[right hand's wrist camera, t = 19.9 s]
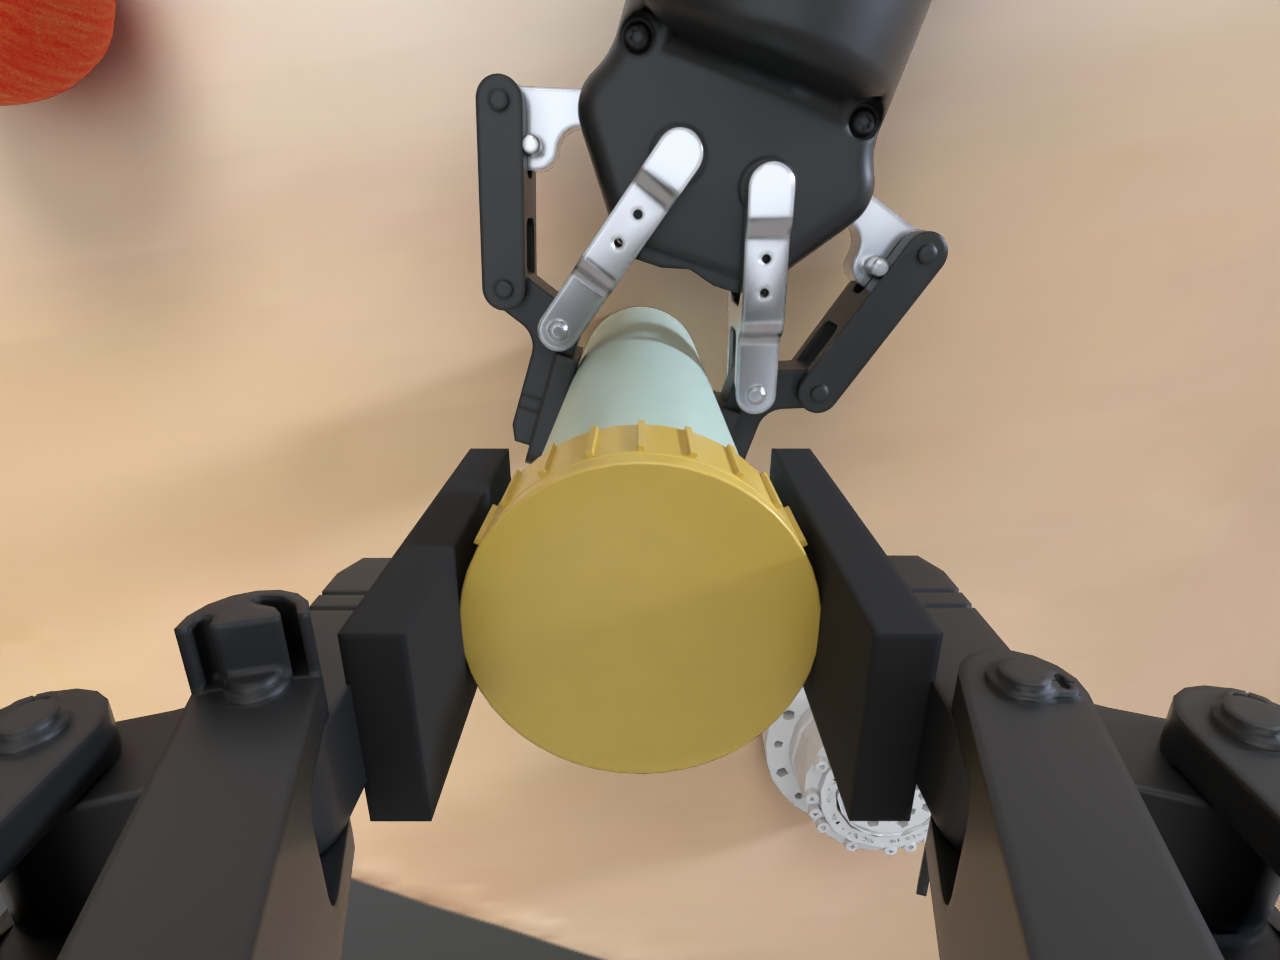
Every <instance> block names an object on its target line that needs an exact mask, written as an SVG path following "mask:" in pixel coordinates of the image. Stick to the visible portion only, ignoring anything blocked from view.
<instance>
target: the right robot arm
mask: <svg viewBox="0 0 1280 960" xmlns="http://www.w3.org/2000/svg"><path fill="white" fill-rule="evenodd" d="M510 481H511V475H510V460H509V449H470V450H469V452H468V453H467V454H466V456H465V457H464V458H463V460H462V461H461V463H460V464H459V465H458V467H457V468H456V470H455V471H454V472H453V474H452V475H451V477H450V478H449V479H448V481H447V482H446V483H445V485H444V486H443V488H442V489H441V490H440V492H439V493H438V495H437V496H436V497H435V499H434V500H433V501H432V503H431V504H430V506H429V507H428V508H427V510H426V511H425V513H424V514H423V515H422V517H421V518H420V520H419V521H418V522H417V524H416V525H415V526H414V528H413V529H412V531H411V532H410V533H409V535H408V536H407V538H406V539H405V540H404V542H403V543H402V545H401V546H400V547H399V549H398V550H397V551H396V553H395V554H394V556H393V557H392V558H363V559H361V560H359V561H358V562H356V563H354V564H352V565H351V566H349V567H347V568H346V569H344V570H342V571H341V572H339V573H337V575H336V576H335V577H334V578H333V579H332V581H331V582H330V583H329V584H328V585H327V587H326V588H325V589H324V590H323V591H322V595H319V596H318V597H317V598H316V600H315V601H314V602H313V603H312V604H311V606H310V608H309V603H308V601H307V600H306V599H305V598H303V597H302V596H300V595H299V594H297V593H293V592H288V591H283V590H265V591H254V592H249V593H243V594H238V595H233V596H230V597H227V598H224V599H222V600H219V601H216V602H213V603H211V604H208V605H206V606H204V607H202V608H201V609H199V610H197V611H195V612H194V613H192V614H190V615H188V616H187V617H186V618H185V619H184V620H183V621H182V622H181V623H180V624H179V625H178V626H177V627H176V628H175V629H174V631H175V635H176V638H177V642H178V646H179V649H180V653H181V657H182V660H183V664H184V668H185V671H186V675H187V678H188V682H189V686H190V689H191V693H192V695H191V697H190V699H189V700H188V702H187V704H186V706H185V708H182V709H178V710H174V711H169V712H164V713H159V714H154V715H149V716H144V717H139V718H133V719H128V720H123V721H118V722H115V719H114V716H113V713H112V710H111V707H110V704H109V701H108V699H107V698H106V697H104V696H103V695H102V694H100V693H99V692H98V691H92V690H84V689H70V690H62V691H50V692H45V693H41V694H37V695H36V696H34V697H33V696H30V697H27V698H24V699H21V700H18V701H16V702H14V703H12V704H11V705H9V706H7V707H5V708H3V709H0V893H1V895H2V897H3V899H4V902H5V904H6V906H7V908H8V909H7V910H6V911H5V912H4V913H3V914H2V915H1V917H0V960H340V958H341V951H342V943H343V935H344V927H345V920H346V912H347V904H348V896H349V889H350V881H351V873H352V865H353V858H354V850H355V846H354V839H353V832H352V827H351V821H350V816H351V814H352V811H353V809H354V807H355V805H356V803H357V801H358V799H359V797H360V795H361V793H362V791H363V789H364V787H365V793H366V798H367V804H368V810H369V815H370V821H431V820H432V818H433V815H434V812H435V809H436V806H437V803H438V800H439V797H440V794H441V791H442V788H443V786H444V783H445V780H446V777H447V774H448V771H449V768H450V765H451V762H452V759H453V756H454V753H455V751H456V748H457V745H458V742H459V739H460V736H461V733H462V730H463V727H464V724H465V721H466V719H467V716H468V713H469V710H470V707H471V704H472V701H473V698H474V695H475V692H476V689H477V686H478V685H477V684H476V682H475V680H474V678H473V676H472V674H471V672H470V669H469V666H468V663H467V660H466V657H465V654H464V645H463V637H462V627H461V617H460V599H461V590H462V587H463V583H464V580H465V576H466V572H467V569H468V567H469V565H470V563H471V560H472V558H473V556H474V554H475V551H476V549H477V547H478V545H477V544H475V543H474V540H475V538H476V536H477V534H478V532H479V530H480V528H481V526H482V525H483V523H484V521H485V519H486V517H487V515H488V513H489V511H490V509H491V507H492V505H493V504H494V505H496V506H498V504H499V502H500V501H501V499H502V498H503V496H504V493H505V491H506V489H507V487H508V485H509V483H510ZM770 481H771V483H772V485H773V487H774V489H775V491H776V493H777V495H778V497H779V499H780V501H781V503H782V505H783V507H787V506H789V508H790V510H791V512H792V514H793V516H794V518H795V520H796V522H797V524H798V526H799V528H800V530H801V532H802V533H803V535H804V537H805V539H806V542H807V544H808V545H806V546H804V547H803V549H804V551H805V553H806V555H807V557H808V559H809V562H810V564H811V566H812V568H813V571H814V575H815V578H816V581H817V585H818V588H819V595H820V603H821V612H820V622H819V633H818V641H817V650H816V656H815V659H814V662H813V665H812V668H811V671H810V673H809V675H808V677H807V679H806V681H805V683H804V685H803V688H804V691H805V694H806V697H807V700H808V703H809V706H810V709H811V711H812V714H813V717H814V720H815V723H816V726H817V729H818V732H819V735H820V738H821V741H822V743H823V746H824V749H825V752H826V755H827V758H828V761H829V764H830V767H831V770H832V773H833V776H834V778H835V781H836V784H837V787H838V790H839V793H840V796H841V799H842V802H843V805H844V808H845V810H846V813H847V816H848V819H849V821H910V818H911V812H912V807H913V801H914V795H915V790H916V784H917V786H918V788H919V790H920V792H921V794H922V796H923V799H924V801H925V803H926V805H927V807H928V809H929V811H930V813H931V816H930V821H929V827H928V832H927V837H926V842H925V847H924V853H923V858H922V863H921V868H920V873H919V879H918V886H917V893H916V894H918V895H923V896H926V894H927V889H928V884H929V881H930V887H931V895H932V902H933V910H934V918H935V926H936V933H937V941H938V949H939V957H940V960H1280V912H1279V910H1278V909H1277V908H1276V907H1275V906H1274V905H1275V903H1276V901H1277V899H1278V896H1279V894H1280V705H1278V704H1276V703H1273V702H1271V701H1270V700H1268V699H1267V698H1265V697H1262V696H1259V695H1256V694H1253V693H1250V692H1249V694H1248V693H1246V692H1245V691H1242V690H1238V689H1233V688H1222V687H1214V686H1205V685H1204V686H1196V687H1188V688H1184V689H1182V690H1181V691H1180V692H1178V693H1177V694H1176V695H1174V697H1173V700H1172V703H1171V706H1170V709H1169V712H1168V715H1167V718H1166V719H1163V718H1158V717H1153V716H1148V715H1143V714H1138V713H1133V712H1128V711H1123V710H1117V709H1112V708H1108V707H1104V706H1100V705H1096V704H1094V703H1093V701H1092V699H1091V697H1090V695H1089V693H1088V692H1087V691H1086V690H1085V688H1084V687H1083V686H1082V685H1081V684H1080V682H1079V681H1078V680H1077V679H1076V678H1075V677H1073V676H1072V675H1070V674H1069V673H1067V672H1066V671H1064V670H1063V669H1061V668H1060V667H1058V666H1057V665H1054V664H1052V663H1050V662H1047V661H1045V660H1043V659H1040V658H1038V657H1035V656H1032V655H1028V654H1024V653H1020V652H1015V651H1011V650H1010V649H1009V648H1008V647H1007V646H1006V644H1005V643H1004V642H1003V641H1002V640H1001V638H1000V637H999V636H998V635H997V634H996V633H995V631H994V630H993V629H992V628H991V627H990V625H989V624H988V623H987V622H986V621H985V620H984V618H983V617H982V616H981V615H980V614H979V612H978V611H977V610H976V609H975V608H972V607H971V603H970V602H969V601H968V600H967V598H966V597H965V596H964V595H963V594H962V593H959V589H958V588H957V587H956V585H955V584H954V583H953V582H952V581H951V579H950V578H949V577H948V576H947V575H946V574H945V572H944V571H942V570H941V569H939V568H937V567H936V566H934V565H932V564H931V563H929V562H927V561H926V560H924V559H922V558H920V557H919V556H887V555H886V554H885V552H884V551H883V549H882V548H881V547H880V545H879V544H878V542H877V541H876V540H875V538H874V537H873V536H872V534H871V533H870V531H869V530H868V529H867V527H866V526H865V524H864V523H863V522H862V520H861V519H860V518H859V516H858V515H857V513H856V512H855V511H854V509H853V508H852V506H851V505H850V504H849V502H848V501H847V499H846V498H845V497H844V495H843V494H842V493H841V491H840V490H839V488H838V487H837V486H836V484H835V483H834V481H833V480H832V479H831V477H830V476H829V474H828V473H827V472H826V470H825V469H824V468H823V466H822V465H821V463H820V462H819V461H818V459H817V458H816V456H815V455H814V454H813V452H812V451H811V450H810V449H772V452H771V467H770Z"/></svg>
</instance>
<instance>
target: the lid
mask: <svg viewBox="0 0 1280 960" xmlns="http://www.w3.org/2000/svg"><path fill="white" fill-rule="evenodd" d="M474 543H475V544H477V545H478V547H477V549H476V551H475V554H474V556H473V558H472V560H471V563H470V565H469V567H468V569H467V572H466V576H465V580H464V583H463V587H462V590H461V599H460V617H461V627H462V637H463V645H464V654H465V657H466V660H467V663H468V666H469V669H470V672H471V674H472V676H473V678H474V680H475V682H476V684H477V685H478V687H479V689H480V691H481V692H482V694H483V695H484V697H485V698H486V699H487V701H488V702H489V704H490V705H491V707H492V708H493V709H494V710H495V711H496V712H497V713H498V714H499V715H500V716H501V718H502V719H503V720H504V721H505V722H506V723H507V724H509V725H510V726H511V727H512V728H513V729H514V730H516V731H517V732H518V733H519V734H520V735H522V736H523V737H525V738H526V739H528V740H529V741H531V742H532V743H534V744H535V745H537V746H538V747H540V748H542V749H544V750H546V751H548V752H550V753H552V754H554V755H556V756H558V757H560V758H563V759H566V760H568V761H571V762H573V763H576V764H579V765H583V766H587V767H591V768H595V769H599V770H605V771H612V772H618V773H636V774H645V773H663V772H669V771H675V770H682V769H686V768H690V767H694V766H697V765H701V764H705V763H707V762H710V761H712V760H715V759H718V758H720V757H723V756H725V755H727V754H729V753H731V752H733V751H735V750H737V749H739V748H740V747H742V746H744V745H746V744H747V743H748V742H750V741H751V740H753V739H754V738H756V737H757V736H759V735H760V734H762V733H763V732H764V731H765V730H766V729H767V728H768V727H770V726H771V725H772V724H773V723H774V722H775V721H776V720H777V719H778V718H779V717H780V716H781V715H782V714H783V713H784V712H785V710H786V709H787V708H788V707H789V706H790V705H791V703H792V702H793V700H794V699H795V697H796V696H797V694H798V693H799V692H800V690H801V689H802V687H803V685H804V683H805V681H806V679H807V677H808V675H809V673H810V671H811V668H812V665H813V662H814V659H815V656H816V650H817V641H818V633H819V622H820V612H821V603H820V595H819V588H818V585H817V581H816V578H815V575H814V571H813V568H812V566H811V564H810V562H809V559H808V557H807V555H806V553H805V551H804V549H803V547H804V546H806V545H808V544H807V542H806V539H805V537H804V535H803V533H802V532H801V530H800V528H799V526H798V524H797V522H796V520H795V518H794V516H793V514H792V512H791V510H790V508H789V506H787V507H783V505H782V503H781V501H780V499H779V497H778V495H777V493H776V491H775V489H774V487H773V485H772V483H771V481H770V479H769V477H768V475H767V474H766V473H765V472H764V471H763V472H762V473H761V474H760V473H759V472H758V471H757V470H756V469H755V468H753V467H752V466H751V465H750V464H749V463H748V462H746V461H745V460H744V459H743V458H742V457H741V456H739V455H737V453H736V451H735V448H734V446H732V445H731V444H728V445H727V446H726V447H725V446H724V445H721V444H719V443H717V442H715V441H713V440H711V439H709V438H707V437H705V436H702V435H699V434H696V433H693V431H692V428H691V427H688V426H685V428H684V430H683V429H678V428H672V427H667V426H662V425H645V420H638V424H635V425H620V426H613V427H608V428H603V429H598V426H597V425H596V426H592V427H591V429H590V432H588V433H585V434H582V435H579V436H576V437H574V438H572V439H569V440H567V441H565V442H563V443H561V444H559V445H557V446H556V445H555V443H552V444H550V445H548V448H547V450H546V453H545V454H543V455H542V456H540V457H539V458H537V459H536V460H535V461H534V462H533V463H532V464H531V465H529V466H528V467H527V468H526V469H525V470H524V471H523V472H521V471H519V470H517V471H516V472H515V473H514V475H513V477H512V479H511V481H510V483H509V485H508V487H507V489H506V491H505V493H504V496H503V498H502V499H501V501H500V502H499V504H498V506H496V505H494V504H493V505H492V507H491V509H490V511H489V513H488V515H487V517H486V519H485V521H484V523H483V525H482V526H481V528H480V530H479V532H478V534H477V536H476V538H475V540H474Z"/></svg>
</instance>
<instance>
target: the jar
mask: <svg viewBox="0 0 1280 960" xmlns="http://www.w3.org/2000/svg"><path fill="white" fill-rule="evenodd" d="M638 420H645V425H662V426H667V427H672V428H678V429H683V430H684V428H685V426H688V427H691V428H692V431H693V433H696V434H699V435H702V436H705V437H707V438H709V439H711V440H713V441H715V442H717V443H719V444H721V445H724V446H725V447H726V446H727V445H728V444H731V445H732V446H734V448H735V451H736V453H737V455H739V454H738V452H737V449H736V447H735V445H734V442H733V440H732V437H731V435H730V432H729V430H728V427H727V425H726V422H725V420H724V417H723V415H722V413H721V410H720V408H719V405H718V403H717V400H716V398H715V395H714V393H713V390H712V388H711V385H710V383H709V381H708V378H707V376H706V373H705V371H704V368H703V366H702V363H701V361H700V358H699V356H698V353H697V351H696V349H695V346H694V344H693V341H692V339H691V337H690V335H689V334H688V332H687V330H686V329H685V328H684V327H683V326H682V324H681V323H680V322H678V321H677V320H676V319H675V318H674V317H672V316H671V315H669V314H667V313H665V312H663V311H660V310H658V309H654V308H649V307H632V308H626V309H623V310H620V311H618V312H616V313H614V314H612V315H610V316H609V317H607V318H606V319H605V320H603V321H602V322H601V323H600V324H599V325H598V327H597V328H596V329H595V330H594V332H593V333H592V335H591V337H590V339H589V341H588V343H587V346H586V348H585V350H584V353H583V355H582V358H581V360H580V363H579V365H578V368H577V370H576V373H575V375H574V378H573V380H572V383H571V385H570V387H569V390H568V392H567V395H566V397H565V399H564V402H563V404H562V407H561V409H560V412H559V414H558V417H557V419H556V422H555V424H554V426H553V429H552V431H551V434H550V436H549V439H548V441H547V444H546V446H545V449H544V451H543V453H542V455H543V454H545V453H546V450H547V448H548V445H550V444H552V443H555V445H556V446H557V445H559V444H561V443H563V442H565V441H567V440H569V439H572V438H574V437H576V436H579V435H582V434H585V433H588V432H590V429H591V427H592V426H596V425H597V426H598V429H603V428H608V427H613V426H620V425H635V424H638Z"/></svg>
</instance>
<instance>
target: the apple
mask: <svg viewBox="0 0 1280 960" xmlns="http://www.w3.org/2000/svg"><path fill="white" fill-rule="evenodd" d="M115 8H116V0H0V106H5V105H18V104H25V103H31V102H36V101H40V100H44V99H47V98H50V97H53V96H56V95H58V94H60V93H62V92H64V91H66V90H68V89H70V88H71V87H73V86H74V85H75V84H77V83H78V82H79V81H80V80H82V79H83V78H84V77H85V76H86V75H87V74H89V73H90V72H91V71H92V70H93V69H94V68H95V67H96V65H97V64H98V63H99V62H100V61H101V59H102V58H103V57H104V55H105V53H106V52H107V50H108V48H109V45H110V43H111V39H112V35H113V30H114V22H115Z"/></svg>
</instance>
